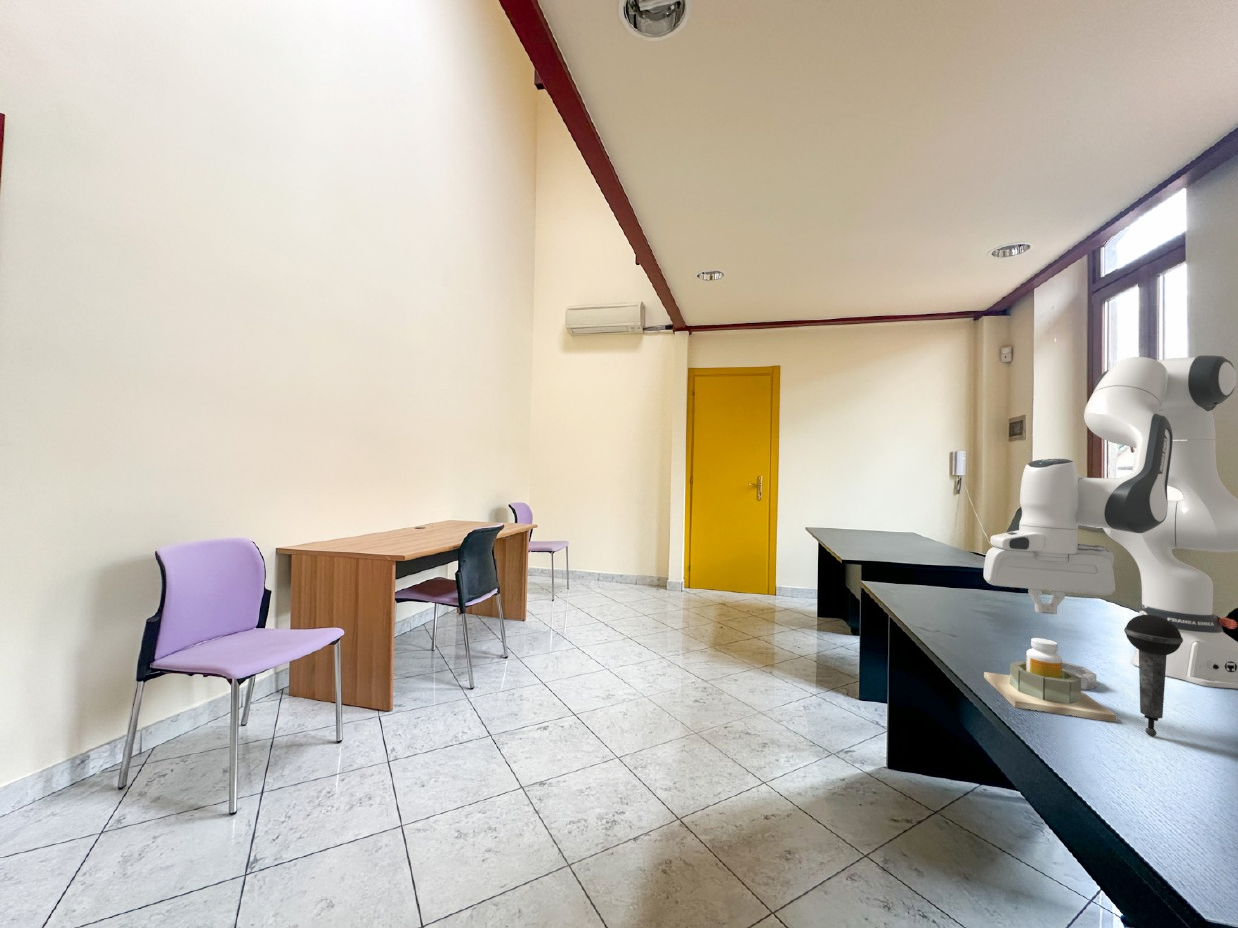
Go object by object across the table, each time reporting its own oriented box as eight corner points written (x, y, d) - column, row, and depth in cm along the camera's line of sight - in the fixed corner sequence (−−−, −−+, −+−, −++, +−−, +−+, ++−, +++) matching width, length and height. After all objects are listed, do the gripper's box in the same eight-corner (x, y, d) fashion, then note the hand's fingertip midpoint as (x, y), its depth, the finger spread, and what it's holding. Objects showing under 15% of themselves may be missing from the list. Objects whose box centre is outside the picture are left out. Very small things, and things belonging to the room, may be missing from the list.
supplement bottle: (1068, 698, 97) (1069, 646, 97) (1036, 695, 98) (1037, 644, 98) (1049, 687, 102) (1051, 638, 102) (1019, 684, 103) (1020, 635, 103)
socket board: (1069, 688, 105) (1070, 663, 105) (1116, 722, 90) (1116, 692, 90) (984, 677, 109) (984, 652, 109) (1015, 707, 95) (1015, 679, 95)
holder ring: (1076, 673, 113) (1076, 662, 113) (1105, 692, 103) (1105, 679, 103) (1020, 666, 116) (1020, 655, 117) (1043, 684, 107) (1043, 672, 107)
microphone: (1188, 751, 81) (1191, 623, 81) (1128, 737, 85) (1131, 615, 85) (1172, 733, 87) (1174, 614, 87) (1116, 721, 90) (1119, 607, 91)
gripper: (1103, 544, 100) (1101, 615, 100) (981, 536, 106) (979, 603, 106) (1124, 548, 94) (1122, 624, 94) (993, 539, 100) (991, 610, 100)
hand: (1045, 612), depth 100 cm, fingers closed
